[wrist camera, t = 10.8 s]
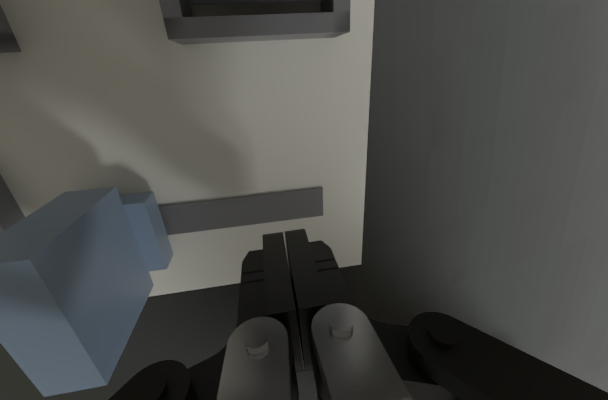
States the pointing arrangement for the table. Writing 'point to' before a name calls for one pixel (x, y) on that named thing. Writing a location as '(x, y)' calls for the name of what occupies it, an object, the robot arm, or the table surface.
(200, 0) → the gray push button
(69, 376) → the blue paddle
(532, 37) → the table surface
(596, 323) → the table surface
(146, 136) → the control panel
